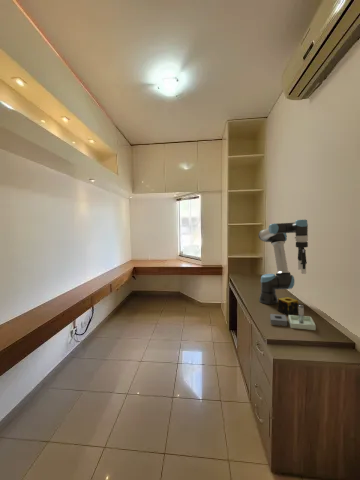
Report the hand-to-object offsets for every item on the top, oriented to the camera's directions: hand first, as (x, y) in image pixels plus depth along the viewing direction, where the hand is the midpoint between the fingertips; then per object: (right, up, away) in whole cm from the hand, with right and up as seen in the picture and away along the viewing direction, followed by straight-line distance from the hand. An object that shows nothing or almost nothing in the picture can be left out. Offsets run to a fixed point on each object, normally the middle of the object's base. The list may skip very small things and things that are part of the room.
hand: (302, 271), depth 161 cm
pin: (-6, -33, -10) cm, 35 cm away
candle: (-5, -33, +11) cm, 35 cm away
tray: (-6, -34, -10) cm, 36 cm away
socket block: (-19, -34, -5) cm, 39 cm away
